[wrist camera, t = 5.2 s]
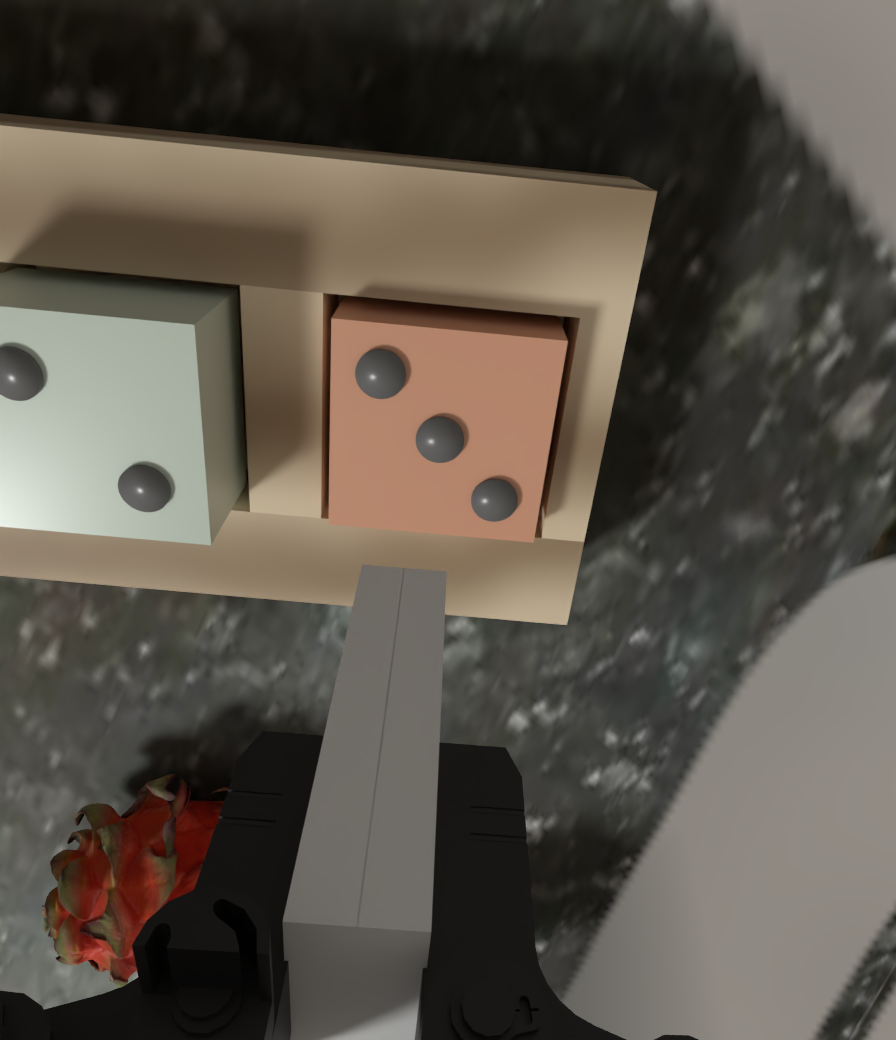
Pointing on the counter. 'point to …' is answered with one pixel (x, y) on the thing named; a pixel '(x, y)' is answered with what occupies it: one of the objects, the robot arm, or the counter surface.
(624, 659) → the counter surface
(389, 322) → the key three
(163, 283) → the key two
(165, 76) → the counter surface
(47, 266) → the key panel
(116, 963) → the dragon fruit
